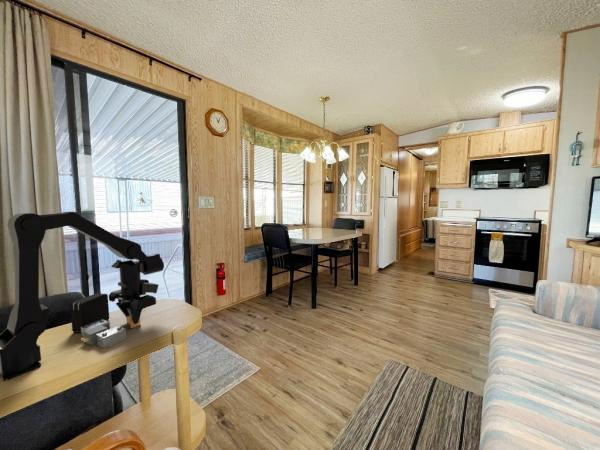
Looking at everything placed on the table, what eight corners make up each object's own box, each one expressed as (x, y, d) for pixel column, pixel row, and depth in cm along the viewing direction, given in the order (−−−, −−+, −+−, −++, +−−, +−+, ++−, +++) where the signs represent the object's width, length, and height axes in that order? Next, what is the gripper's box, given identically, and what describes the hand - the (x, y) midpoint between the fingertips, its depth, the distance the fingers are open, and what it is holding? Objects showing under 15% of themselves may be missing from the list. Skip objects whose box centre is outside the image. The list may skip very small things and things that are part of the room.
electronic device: (109, 319, 92) (107, 293, 91) (83, 333, 82) (81, 303, 81) (99, 319, 92) (97, 292, 92) (72, 333, 83) (69, 303, 82)
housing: (104, 348, 73) (103, 336, 73) (81, 336, 80) (80, 325, 80) (126, 338, 78) (125, 327, 78) (103, 328, 85) (102, 318, 85)
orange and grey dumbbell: (86, 347, 74) (85, 336, 73) (80, 344, 76) (79, 333, 75) (141, 324, 87) (140, 315, 87) (135, 322, 89) (134, 313, 89)
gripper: (169, 275, 88) (172, 318, 89) (139, 269, 97) (142, 308, 99) (136, 284, 78) (139, 332, 80) (106, 277, 88) (109, 320, 89)
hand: (133, 322), depth 87 cm, fingers closed on orange and grey dumbbell, 3 cm apart
